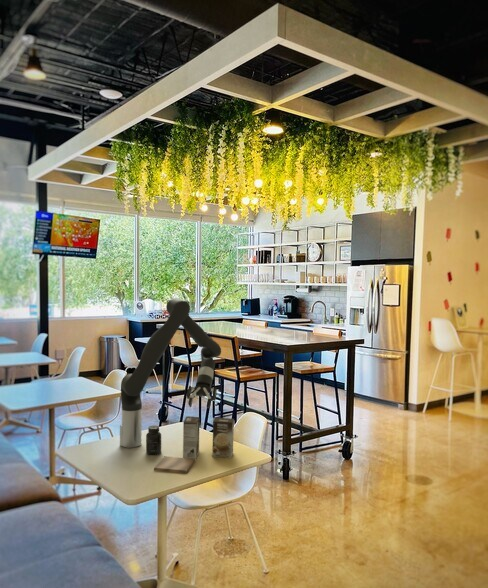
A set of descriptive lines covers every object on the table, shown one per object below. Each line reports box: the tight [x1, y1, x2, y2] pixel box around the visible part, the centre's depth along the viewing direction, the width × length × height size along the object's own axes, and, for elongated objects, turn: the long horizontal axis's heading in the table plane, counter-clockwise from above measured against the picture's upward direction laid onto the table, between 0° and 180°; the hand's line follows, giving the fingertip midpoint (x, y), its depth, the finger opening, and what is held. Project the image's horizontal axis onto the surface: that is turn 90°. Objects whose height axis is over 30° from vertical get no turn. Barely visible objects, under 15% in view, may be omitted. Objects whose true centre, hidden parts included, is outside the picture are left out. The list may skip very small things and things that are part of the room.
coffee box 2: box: [211, 416, 235, 459], centre depth 217 cm, size 9×6×16 cm
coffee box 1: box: [182, 415, 200, 459], centre depth 216 cm, size 9×6×16 cm
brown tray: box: [153, 455, 196, 474], centre depth 203 cm, size 14×13×1 cm
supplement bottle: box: [145, 425, 162, 456], centre depth 217 cm, size 7×7×12 cm
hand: (198, 406), depth 228 cm, fingers open, 8 cm apart
